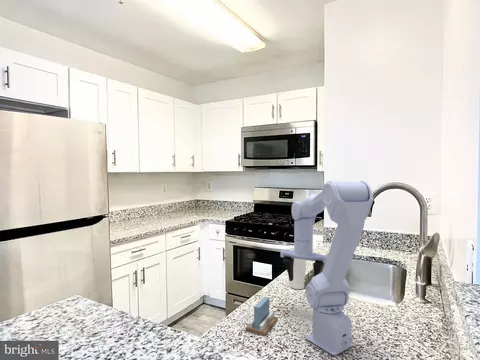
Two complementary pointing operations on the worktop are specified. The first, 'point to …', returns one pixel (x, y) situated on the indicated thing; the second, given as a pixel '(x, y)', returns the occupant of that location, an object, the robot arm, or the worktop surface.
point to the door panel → (261, 311)
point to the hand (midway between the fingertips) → (303, 282)
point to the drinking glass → (298, 273)
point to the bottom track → (263, 325)
